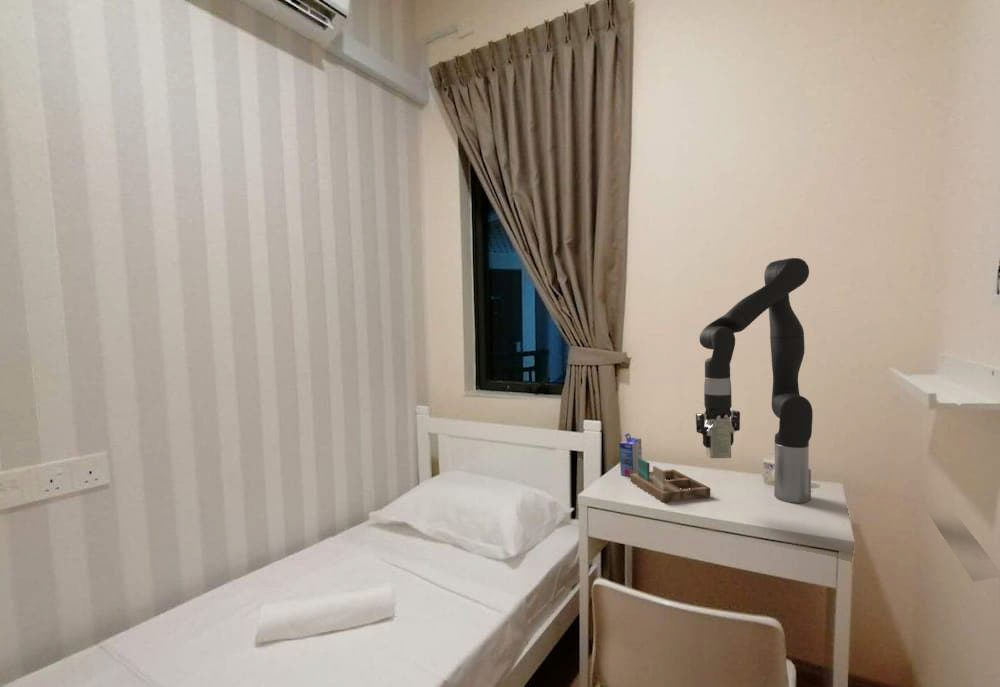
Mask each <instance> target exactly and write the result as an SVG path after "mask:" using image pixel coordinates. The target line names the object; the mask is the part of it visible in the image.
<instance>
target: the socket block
mask: <svg viewBox="0 0 1000 687" xmlns="http://www.w3.org/2000/svg"><path fill="white" fill-rule="evenodd" d="M665 479H670V480H665ZM631 482H632V484H633V485H634V484H635V485H634V486H636V485H637V486H636V487H638V488H639V487H640V489H641V490H642V489H643V490H642V491H644V492H645V491H646V493H647V492H648V493H647V494H648V495H650V494H651V495H650V496H652V497H653V496H654V497H653V498H655V497H656V498H657V500H658V499H659V500H660V502H661V501H662V502H661V503H663V502H666V503H672V502H671V501H675V502H682V501H681V500H683V501H689V500H690V499H691V500H698V498H700V499H707V498H706V497H708V498H711V487H709V486H707V485H705V484H703V483H702V482H699V481H697V480H695V479H693V478H692V477H689V476H687V475H685V474H684V473H682V472H679V471H678V470H676V469H673V468H672V469H662V468H659V467H657V466H656V465H653V466H652V471H650V462H648V461H647V460H644V459H643V458H642V459H641V458H638V473H633V474H631V476H630V483H631ZM680 488H684V489H680ZM689 488H690V489H689ZM656 498H655V499H656ZM659 500H658V501H659Z"/></svg>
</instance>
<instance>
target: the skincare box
mask: <svg viewBox="0 0 1000 687" xmlns="http://www.w3.org/2000/svg"><path fill="white" fill-rule="evenodd" d="M705 419H706V418H705ZM706 420H707V419H706ZM706 420H705V422H706ZM714 420H715V419H708V420H707V425H709V426H710V425H711V424H712V423H713V421H714ZM730 422H731V417H730V418H720V419H719V421H717V425H716V427H715V429H714V430H712V432H711V434H710V436H711V448H707V447H705V449H706V452H705V453H706V455H707V457H708V458H709V459H732V446H731V427H730ZM715 423H716V422H715Z"/></svg>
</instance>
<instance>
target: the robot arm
mask: <svg viewBox="0 0 1000 687" xmlns="http://www.w3.org/2000/svg"><path fill="white" fill-rule="evenodd" d="M809 274H810V268H809V265H808V263H807V262H806V261H805V260H804V259H801V258H797V257H792V258H791V257H790V258H786V259H785V258H784V259H779V260H775V261H771V262H770V263H768V265H766V267H765V270H764V274H763V277H764V286H763V287H761V288H759V289H758V290H755V291H754V292H752V293H750V294H749V295H746V296H745V297H743V299H741V300H740V301H738V302H737V303H736V304H735V305H734V306H732V308H730V309H729V310H728V311H727V312H726V313H725V314H723V315H722V316H720V317H719V318H717V319H716V320H714V321H712V322H711V323H709V324H707V325H706V326H705V327H704V328H703V329H702V330H701V332H700V333H699V334H700V335H699V343H700V345H701V346H702V347H703V348H705V349H707V350H712V355H711V356H710V357H709V358H707V359H705V362H704V381H703V382H704V384H703V386H704V388H703V395H704V396H703V398H704V401H703V402H704V408H705V411H704V412H703V413H698V412H697V413H695V426H696V433H698V434H701V435H702V445H703V447H705V448H706V447H707V448H711V436H710V434H711V432H712V430H714V429H715V427H716V425H717V421H719V419H720V418H730V427H731V447H732V446H733V445H734V434H735V433H736V432H739V431H740V430H741V412H740V411H738V410H734V409H732V410H731V408H732V406H733V405H732V382H731V361H732V359H733V358H732V357H733V354H734V351H735V348H736V347H735V346H736V337H735V336H736V335H735V333H740V332H742V331H744V330H745V329H747V328H748V326H750V325H751V324H752V323H753V322H754V321H755V320H757V319H758V317H760V315H762V314H763V313H764V312H765V311H767V310H768V314H769V315H768V316H769V318H768V319H769V332H770V334H769V335H770V336H769V337H770V338H769V340H770V341H769V342H770V344H769V345H770V353H771V354H770V355H771V368H772V391H771V392H772V393H771V409H772V412H773V414H774V415H775V416H776V417H777V418H778V419H779V423H778V424H779V425H778V426H779V427H778V432H776V433H775V435H774V477H773V479H774V492H773V493H774V497H775V498H776V499H779V500H780V501H784V502H787V503H794V504H795V503H796V504H799V503H800V504H803V503H806V502H807V503H808V501H809V500H812V495H811V494H812V470H811V468H809V466H810V465H809V463H810V462H809V460H810V459H809V458H810V456H809V455H810V454H809V449H810V444H809V443H810V439H811V438H812V433H813V432H812V431H813V417H814V414H813V406H812V404H811V402H810V401H809V400H808V399H807V398H806V397H804V396H803V395H801V394H800V388H799V373H800V368H801V365H802V363H803V359H804V356H805V346H806V345H805V333H804V332H805V331H804V327H803V326H802V325H803V324H802V323H801V322H800V320H799V318H798V316H797V315H796V314H795V311H794V310H793V308H792V306H791V303H790V293H792V292H793V291H795V290H797V289H798V288H799V287H801V286H802V285H804V283H805V282H807V280H808V279H809ZM705 418H706V419H707V420H708V419H715V420H714V421H713V423H712V424H711V425H710V426H709V425H707V420H706V419H705ZM705 420H706V422H705ZM715 422H716V423H715Z"/></svg>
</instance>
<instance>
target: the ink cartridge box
mask: <svg viewBox="0 0 1000 687" xmlns="http://www.w3.org/2000/svg"><path fill="white" fill-rule="evenodd" d="M624 437H625V438H626V439H624V440H622V441H621V442H620V443H619V458H620V459H619V461H620V462H619V463H620V466H619V467H620V475H621V476H625V475H626V476H625V477H631V474H633V473H638V458H641V459H643V455H642V453H643V452H642V447H643V446H642V438H638V437H631V434H630V433H626V434H625V435H624Z"/></svg>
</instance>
